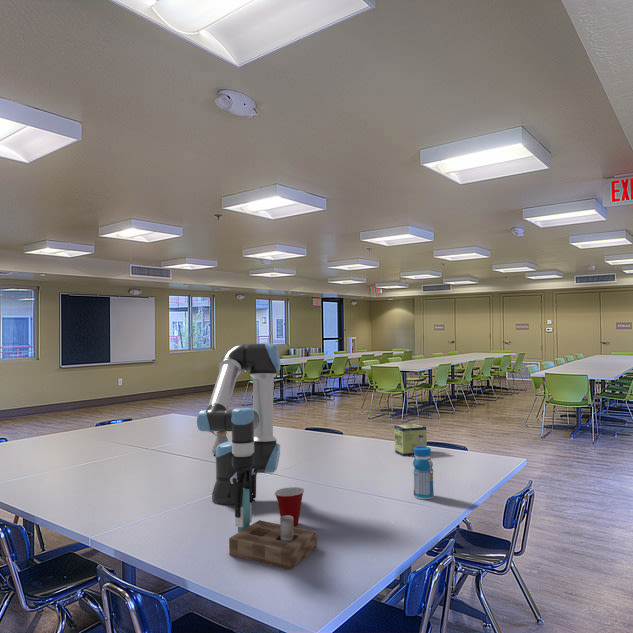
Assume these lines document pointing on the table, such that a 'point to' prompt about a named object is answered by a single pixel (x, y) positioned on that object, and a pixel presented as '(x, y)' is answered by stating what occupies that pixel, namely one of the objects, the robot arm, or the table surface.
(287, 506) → the plastic cup
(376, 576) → the table surface
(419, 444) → the protein box
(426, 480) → the beverage bottle
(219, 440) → the coffee pot
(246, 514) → the teal peg
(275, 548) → the bore block
